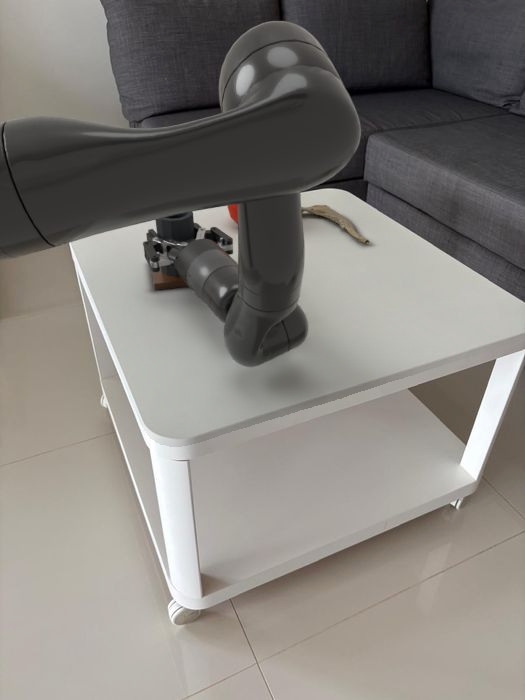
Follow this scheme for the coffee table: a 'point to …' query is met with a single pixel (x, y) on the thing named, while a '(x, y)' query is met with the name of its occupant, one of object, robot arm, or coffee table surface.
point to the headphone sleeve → (175, 233)
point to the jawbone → (334, 219)
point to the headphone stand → (164, 280)
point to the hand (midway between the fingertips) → (170, 230)
